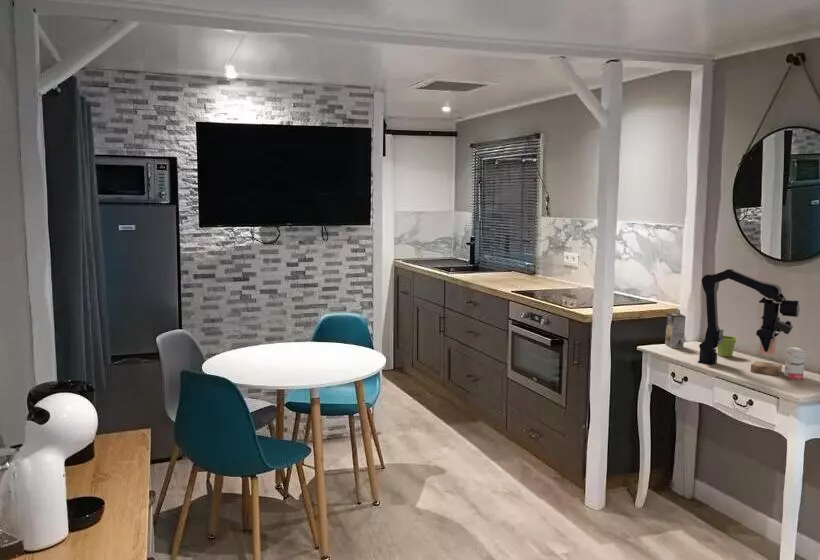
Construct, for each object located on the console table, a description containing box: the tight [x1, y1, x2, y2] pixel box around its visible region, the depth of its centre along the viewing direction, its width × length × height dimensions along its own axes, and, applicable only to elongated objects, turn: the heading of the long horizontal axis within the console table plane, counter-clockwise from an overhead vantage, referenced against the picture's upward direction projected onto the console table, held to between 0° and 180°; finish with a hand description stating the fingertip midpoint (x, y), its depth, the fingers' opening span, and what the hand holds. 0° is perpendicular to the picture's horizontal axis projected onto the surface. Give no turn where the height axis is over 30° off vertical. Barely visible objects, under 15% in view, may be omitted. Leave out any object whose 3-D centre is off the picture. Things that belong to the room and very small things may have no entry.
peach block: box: [759, 338, 777, 356], centre depth 300 cm, size 5×5×6 cm
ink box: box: [783, 346, 807, 381], centre depth 291 cm, size 9×5×12 cm, turn 168°
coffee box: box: [664, 312, 686, 349], centre depth 349 cm, size 9×6×16 cm
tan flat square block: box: [750, 360, 783, 377], centre depth 301 cm, size 10×10×3 cm
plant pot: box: [716, 335, 738, 358], centre depth 331 cm, size 9×9×9 cm
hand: (767, 350), depth 300 cm, fingers closed on peach block, 5 cm apart
